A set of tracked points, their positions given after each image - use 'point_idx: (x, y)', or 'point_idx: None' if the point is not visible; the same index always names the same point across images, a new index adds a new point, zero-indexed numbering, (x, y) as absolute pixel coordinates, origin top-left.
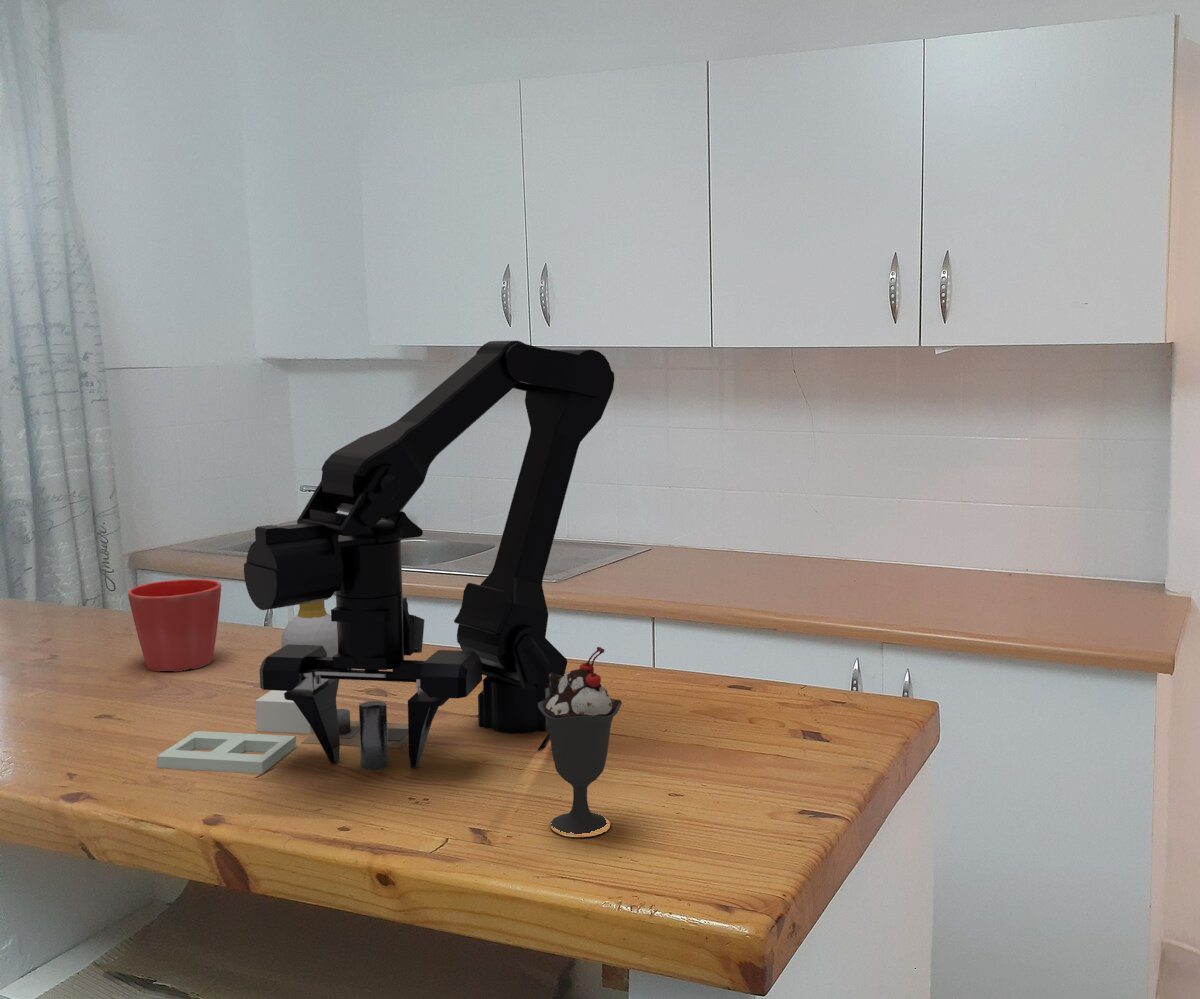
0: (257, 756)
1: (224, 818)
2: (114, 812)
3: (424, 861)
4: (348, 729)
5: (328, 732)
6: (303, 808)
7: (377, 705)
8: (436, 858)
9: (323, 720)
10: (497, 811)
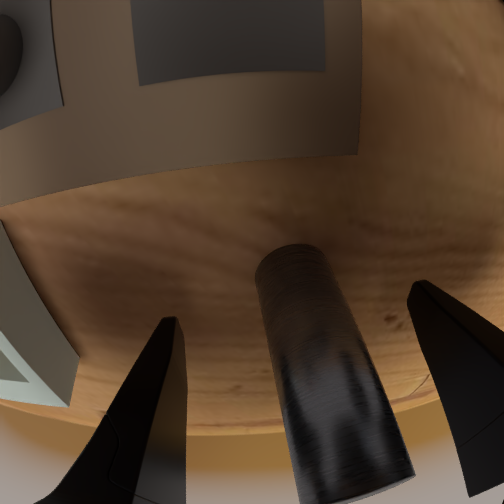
0: (31, 388)
1: None
2: (9, 406)
3: (402, 404)
4: (14, 54)
5: (181, 442)
6: (208, 390)
7: (379, 491)
8: (413, 398)
9: (182, 490)
10: (492, 308)
